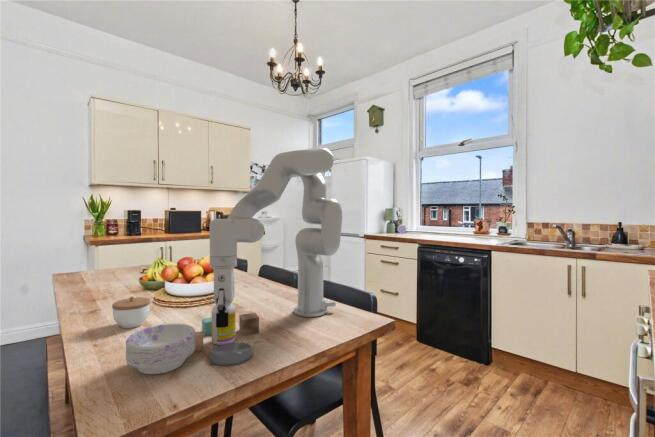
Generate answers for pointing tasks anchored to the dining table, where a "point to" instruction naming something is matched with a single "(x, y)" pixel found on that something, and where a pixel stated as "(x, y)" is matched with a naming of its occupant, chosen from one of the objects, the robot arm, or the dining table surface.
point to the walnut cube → (248, 324)
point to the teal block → (207, 326)
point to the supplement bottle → (224, 333)
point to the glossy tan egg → (198, 341)
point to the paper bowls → (160, 347)
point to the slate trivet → (231, 354)
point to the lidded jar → (131, 311)
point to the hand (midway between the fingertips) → (223, 321)
